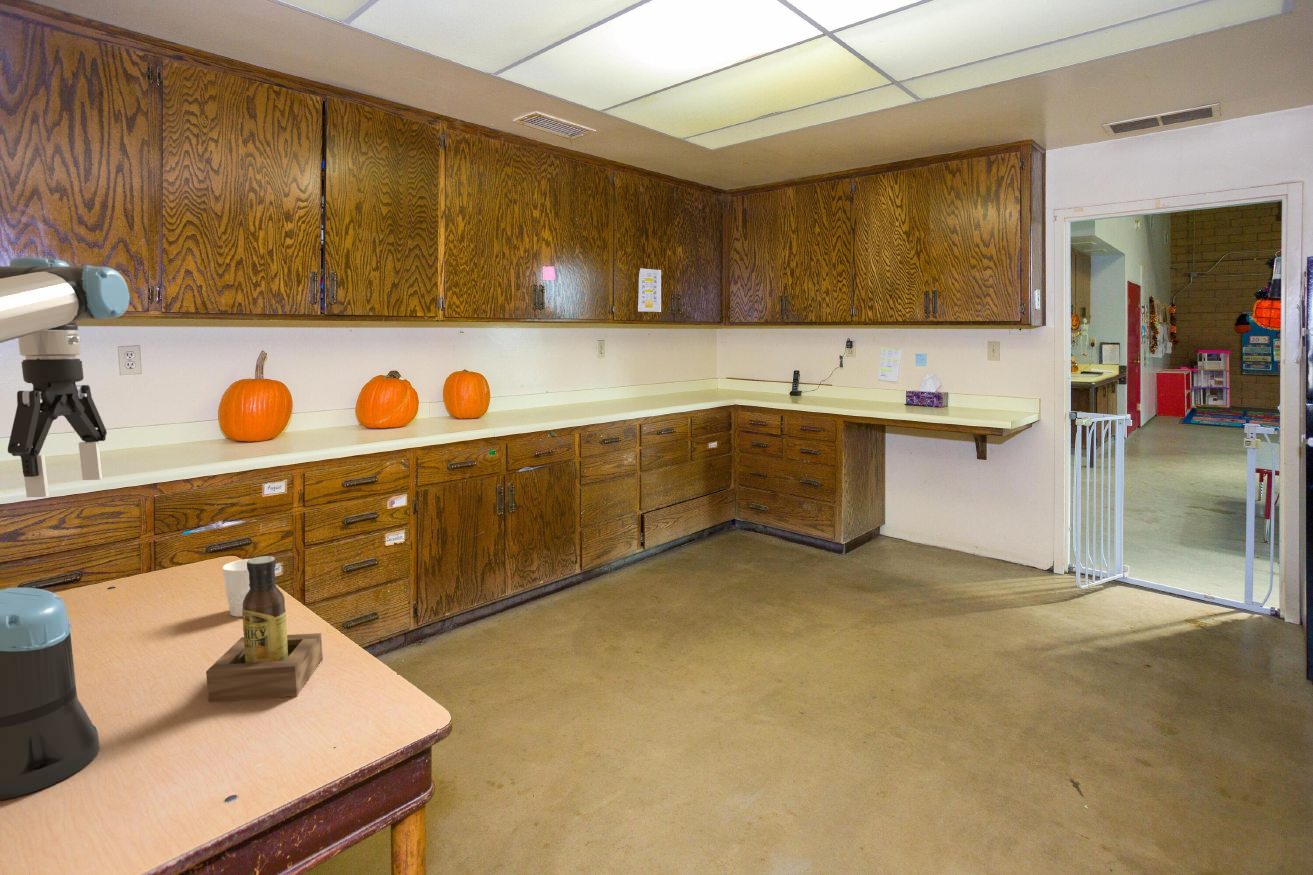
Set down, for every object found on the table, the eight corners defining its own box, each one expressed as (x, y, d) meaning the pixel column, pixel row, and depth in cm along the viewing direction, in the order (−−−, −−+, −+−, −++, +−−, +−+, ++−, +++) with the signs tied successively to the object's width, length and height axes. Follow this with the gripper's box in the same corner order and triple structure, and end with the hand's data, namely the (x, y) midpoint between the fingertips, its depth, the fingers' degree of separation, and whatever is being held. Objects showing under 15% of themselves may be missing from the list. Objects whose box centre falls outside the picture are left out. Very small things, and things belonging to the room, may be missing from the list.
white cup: (249, 619, 147) (245, 571, 145) (217, 616, 149) (212, 568, 147) (278, 605, 154) (275, 560, 153) (248, 602, 156) (244, 557, 155)
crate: (297, 696, 116) (294, 666, 115) (208, 701, 114) (206, 671, 113) (322, 660, 128) (320, 632, 128) (243, 664, 127) (241, 637, 126)
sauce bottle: (238, 679, 120) (227, 561, 117) (272, 663, 125) (263, 551, 122) (265, 687, 117) (255, 566, 114) (298, 670, 123) (290, 555, 120)
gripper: (21, 360, 106) (39, 504, 109) (122, 355, 130) (134, 472, 133) (-37, 360, 105) (-17, 505, 108) (76, 355, 129) (89, 473, 132)
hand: (66, 487), depth 120 cm, fingers open, 13 cm apart
